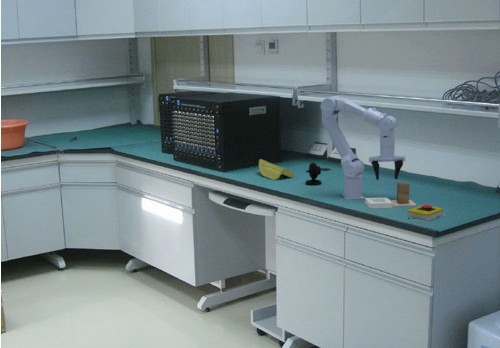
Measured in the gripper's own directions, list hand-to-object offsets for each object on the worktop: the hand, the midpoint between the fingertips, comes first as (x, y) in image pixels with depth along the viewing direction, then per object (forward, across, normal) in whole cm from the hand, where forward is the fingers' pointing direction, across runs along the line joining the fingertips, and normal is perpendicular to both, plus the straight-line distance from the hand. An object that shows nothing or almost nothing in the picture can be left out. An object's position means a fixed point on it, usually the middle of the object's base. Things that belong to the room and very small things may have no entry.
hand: (386, 179), depth 279 cm
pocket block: (+9, -5, -8) cm, 13 cm away
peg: (+9, +6, -5) cm, 12 cm away
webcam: (+10, -25, +37) cm, 46 cm away
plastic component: (+10, -41, +57) cm, 71 cm away
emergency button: (+10, +9, -25) cm, 28 cm away
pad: (+9, +6, -5) cm, 12 cm away
